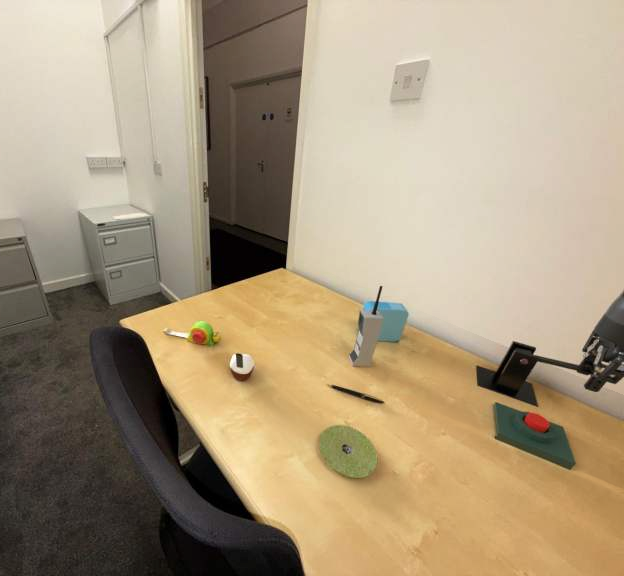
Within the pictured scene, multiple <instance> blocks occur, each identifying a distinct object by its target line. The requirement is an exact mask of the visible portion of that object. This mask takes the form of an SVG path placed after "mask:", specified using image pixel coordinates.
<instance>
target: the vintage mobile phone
mask: <svg viewBox="0 0 624 576" xmlns="http://www.w3.org/2000/svg"><path fill="white" fill-rule="evenodd" d="M382 290H383V285H379V288H378V292H377V296H376V300H375V301H376V302H375V305H374V309H373V310H363V309H360V310H359V313H358V320H357V321H358V322H357V326H358V327H359V329H358V330H357V334H356V338H355V343H354V347H353V350H352V351H351V352H350V353H349V354H348V359H349V361H350V364H351V366H352V367H359V368H360V367H361V368H363V367H364V368H365V367H366V368H369V367H371V364H372V361H373V357H374V354H375V350H376V347H377V344H378V341H377V340H378V337H379V333H380V330H381V327H382V323H383V320H384V319H383V317H382V316H381V315H380V313H379V312H378V311H377V307H378V303H379V302H380V297H381V294H382Z"/></svg>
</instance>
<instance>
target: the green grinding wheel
mask: <svg viewBox="0 0 624 576" xmlns="http://www.w3.org/2000/svg"><path fill="white" fill-rule="evenodd" d="M318 439H319V440H318V447H319V451H320V454H321V455H322V458H323V459H324V460H325V462H326V463H327V464H328V466H330V467H331V468H332V469H333V470H334V471H336V472H338V473H339V474H341V475H344V476H345V477H348V478H355V479H358V478H359V479H360V478H365V477H368V476H370V475H371V474H372V473H373V472H374V471H375V470H376V468H377V464H378V454H377V451H376V448H375V446H374V444H373V443H372V442H371V440H370V439H369V437H367V436H366V435H365V434H364V433H362V432H361V431H360V430H358V429H357V428H355V427H351V426H349V425H344V424H334V425H331V426H328V427H326V428H325V429H324V430H323V431H322V432H321V434H320V436H319V438H318Z"/></svg>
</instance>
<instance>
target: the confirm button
mask: <svg viewBox="0 0 624 576" xmlns="http://www.w3.org/2000/svg"><path fill="white" fill-rule="evenodd" d="M548 421H549V420H548V419H547V418H545V417H544V416H542V415H541V414H539V413H535V412H530V413H528V414H527V416H526V417H525V419H524V422H525V423H526V425H527V426H529V427H530V428H532V429H533V430H536V431H538V432H541V433H543V432H546V430H547V429H548V428H549V426H550V423H549V422H550V421H549V422H548Z"/></svg>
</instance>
